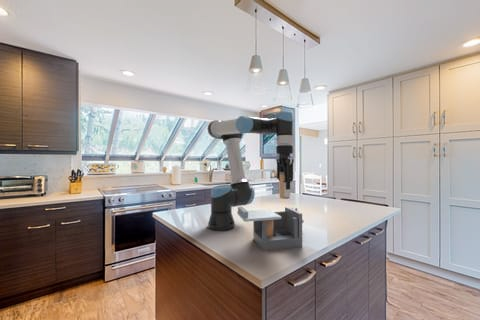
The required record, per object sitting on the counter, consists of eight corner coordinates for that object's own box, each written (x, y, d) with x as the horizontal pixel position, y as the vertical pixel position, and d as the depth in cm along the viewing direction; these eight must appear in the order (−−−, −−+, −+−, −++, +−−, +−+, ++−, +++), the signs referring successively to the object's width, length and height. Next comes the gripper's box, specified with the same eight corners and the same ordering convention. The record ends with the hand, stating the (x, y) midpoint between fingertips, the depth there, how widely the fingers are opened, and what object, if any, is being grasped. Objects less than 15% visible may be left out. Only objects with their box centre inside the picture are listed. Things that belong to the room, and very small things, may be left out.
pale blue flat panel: (237, 213, 103) (237, 206, 103) (269, 211, 106) (269, 204, 106) (244, 221, 89) (244, 213, 89) (281, 218, 93) (281, 210, 93)
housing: (253, 239, 104) (253, 208, 104) (287, 235, 109) (287, 206, 109) (263, 250, 91) (263, 216, 91) (302, 246, 95) (302, 213, 95)
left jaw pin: (262, 242, 100) (262, 216, 100) (271, 241, 101) (271, 215, 101) (265, 245, 96) (265, 218, 96) (275, 244, 97) (274, 218, 97)
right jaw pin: (278, 197, 102) (278, 171, 102) (286, 196, 103) (286, 171, 103) (282, 199, 98) (282, 172, 98) (291, 198, 99) (291, 172, 99)
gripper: (269, 146, 108) (270, 193, 108) (285, 143, 91) (285, 199, 91) (283, 146, 110) (284, 192, 110) (301, 144, 93) (301, 198, 93)
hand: (284, 195), depth 101 cm, fingers closed on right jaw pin, 4 cm apart
